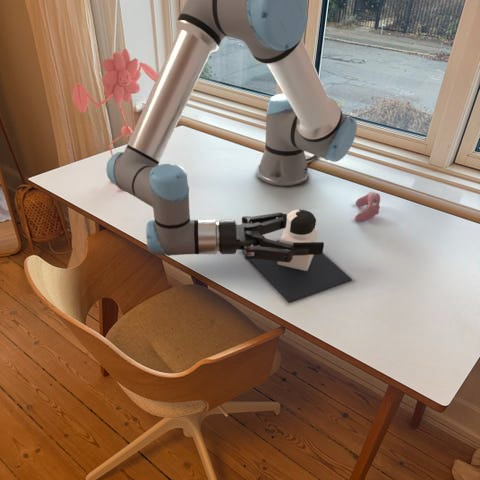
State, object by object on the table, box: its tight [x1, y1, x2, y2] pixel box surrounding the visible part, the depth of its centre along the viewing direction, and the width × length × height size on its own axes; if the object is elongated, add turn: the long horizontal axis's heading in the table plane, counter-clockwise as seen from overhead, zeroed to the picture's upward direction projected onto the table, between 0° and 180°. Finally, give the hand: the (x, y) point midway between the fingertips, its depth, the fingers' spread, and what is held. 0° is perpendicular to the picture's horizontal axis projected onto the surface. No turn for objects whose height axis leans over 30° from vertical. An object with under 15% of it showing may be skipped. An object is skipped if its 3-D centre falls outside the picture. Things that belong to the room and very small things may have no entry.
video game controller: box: [354, 191, 381, 223], centre depth 126 cm, size 10×5×7 cm, turn 168°
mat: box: [242, 239, 353, 304], centre depth 110 cm, size 17×21×1 cm
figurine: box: [71, 48, 159, 191], centre depth 126 cm, size 15×26×35 cm, turn 138°
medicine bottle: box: [277, 209, 319, 271], centre depth 104 cm, size 7×7×12 cm
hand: (318, 235), depth 104 cm, fingers closed on medicine bottle, 9 cm apart
